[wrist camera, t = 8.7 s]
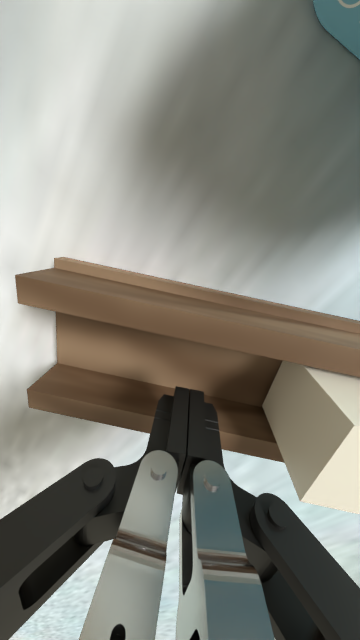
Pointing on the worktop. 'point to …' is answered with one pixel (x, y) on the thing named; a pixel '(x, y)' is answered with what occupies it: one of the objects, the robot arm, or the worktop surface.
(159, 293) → the walnut chute
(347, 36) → the blue labeled box
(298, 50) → the worktop surface
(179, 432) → the robot arm
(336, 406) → the sand block
